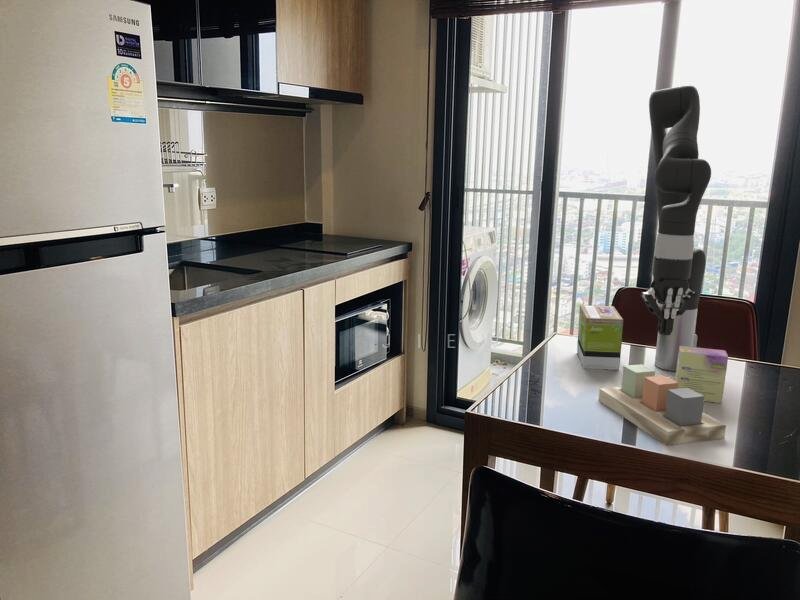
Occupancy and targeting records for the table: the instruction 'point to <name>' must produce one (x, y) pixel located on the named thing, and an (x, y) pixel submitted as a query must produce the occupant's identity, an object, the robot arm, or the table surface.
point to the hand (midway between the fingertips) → (664, 334)
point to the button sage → (635, 379)
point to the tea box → (599, 337)
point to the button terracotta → (657, 392)
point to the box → (702, 371)
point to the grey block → (684, 407)
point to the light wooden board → (660, 420)
